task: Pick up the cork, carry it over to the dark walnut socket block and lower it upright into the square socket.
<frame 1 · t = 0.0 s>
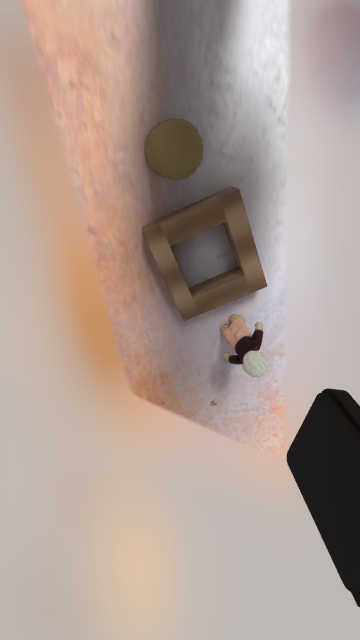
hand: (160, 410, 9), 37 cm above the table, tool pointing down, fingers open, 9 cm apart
socket block: (204, 253, 46), on the table
cork: (169, 150, 39), on the table
grandmother figurine: (233, 323, 52), on the table
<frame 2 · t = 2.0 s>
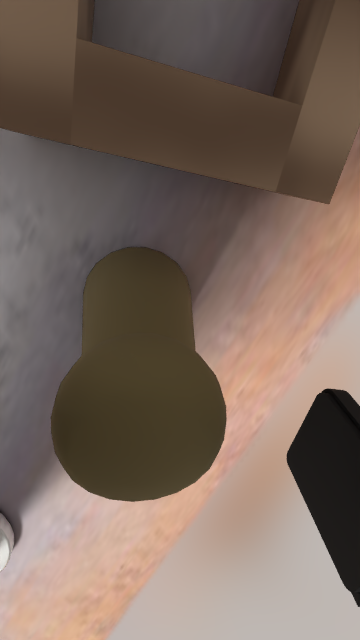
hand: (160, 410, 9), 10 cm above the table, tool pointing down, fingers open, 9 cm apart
cork: (138, 298, 18), on the table
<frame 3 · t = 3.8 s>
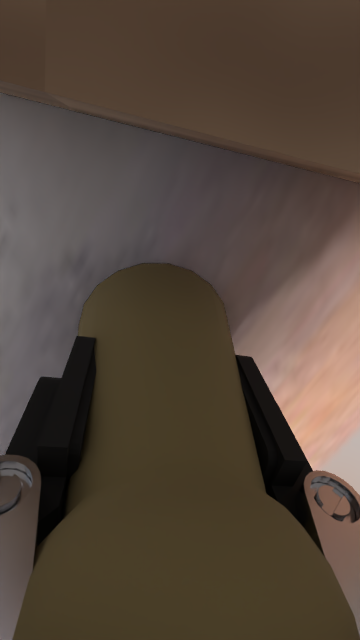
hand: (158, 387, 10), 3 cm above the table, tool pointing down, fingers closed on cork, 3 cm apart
cork: (155, 331, 13), on the table, touching gripper
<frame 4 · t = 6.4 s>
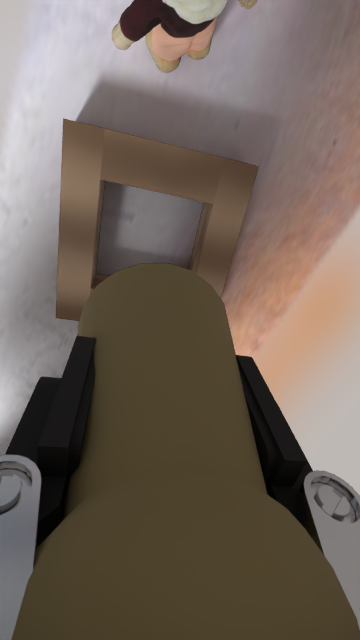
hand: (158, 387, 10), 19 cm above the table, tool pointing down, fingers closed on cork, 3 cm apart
socket block: (148, 237, 27), on the table
cork: (155, 331, 13), point 16 cm above the table, touching gripper
grandmother figurine: (172, 43, 21), on the table
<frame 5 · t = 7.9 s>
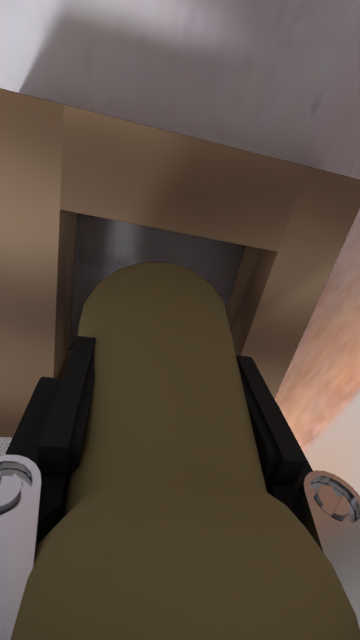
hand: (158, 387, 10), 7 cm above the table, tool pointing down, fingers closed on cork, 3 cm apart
socket block: (153, 294, 16), on the table
cork: (155, 330, 13), point 4 cm above the table, touching gripper
when the fingers open (5 cm above the table, at t = 9.1 s): cork drops 1 cm, resting in socket block.
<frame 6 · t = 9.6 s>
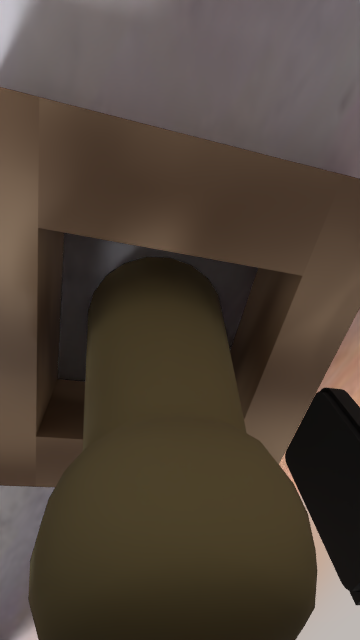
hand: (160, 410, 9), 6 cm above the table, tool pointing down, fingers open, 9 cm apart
socket block: (154, 317, 14), on the table
cork: (156, 319, 14), resting in socket block
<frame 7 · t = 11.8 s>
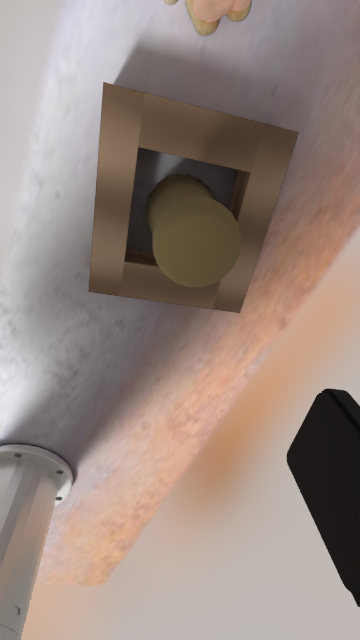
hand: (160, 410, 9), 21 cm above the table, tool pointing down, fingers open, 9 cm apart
socket block: (180, 210, 27), on the table
cork: (181, 212, 27), resting in socket block
grandmother figurine: (211, 4, 21), on the table
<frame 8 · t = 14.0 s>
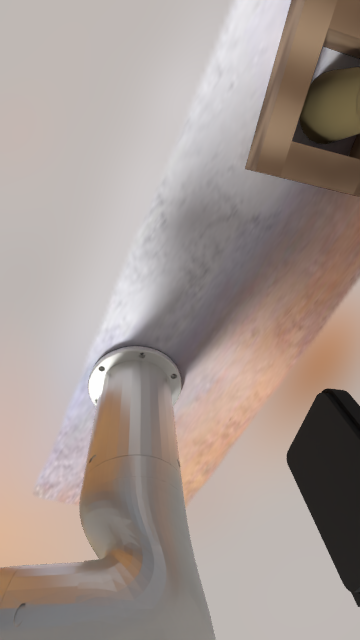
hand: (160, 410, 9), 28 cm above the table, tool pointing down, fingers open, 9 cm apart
socket block: (329, 105, 31), on the table
cork: (328, 109, 31), resting in socket block
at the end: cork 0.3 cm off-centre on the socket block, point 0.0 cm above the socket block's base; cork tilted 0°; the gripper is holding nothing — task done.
